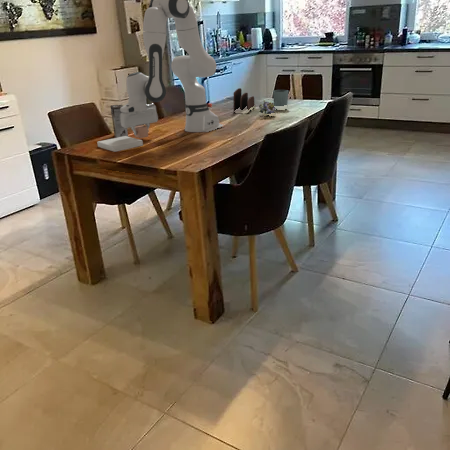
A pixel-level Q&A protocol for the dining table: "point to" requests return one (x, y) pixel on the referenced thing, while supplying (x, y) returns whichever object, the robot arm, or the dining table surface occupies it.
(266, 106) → the passion flower
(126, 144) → the base plate
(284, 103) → the grey tapered pot
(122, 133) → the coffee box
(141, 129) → the terracotta block
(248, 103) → the letter holder
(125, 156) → the dining table surface
